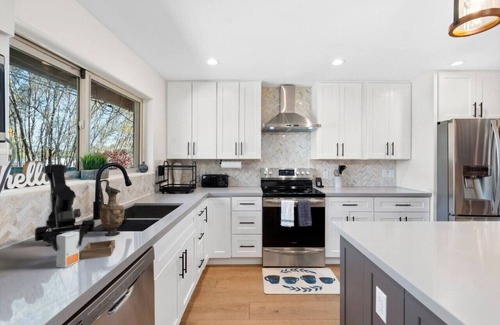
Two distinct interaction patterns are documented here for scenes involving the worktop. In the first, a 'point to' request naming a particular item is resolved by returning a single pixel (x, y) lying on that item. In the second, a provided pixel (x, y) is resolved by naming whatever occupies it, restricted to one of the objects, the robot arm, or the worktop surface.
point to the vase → (110, 210)
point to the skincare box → (67, 249)
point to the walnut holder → (98, 249)
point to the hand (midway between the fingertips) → (68, 248)
